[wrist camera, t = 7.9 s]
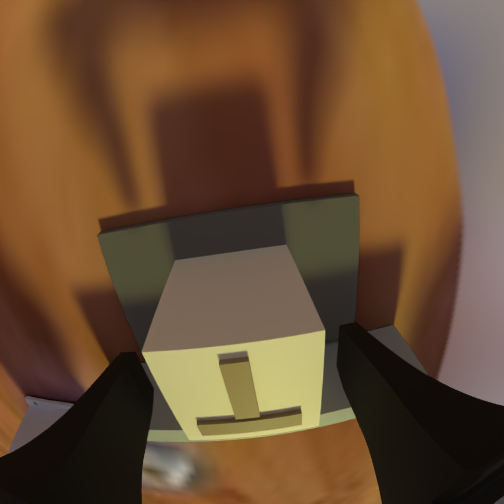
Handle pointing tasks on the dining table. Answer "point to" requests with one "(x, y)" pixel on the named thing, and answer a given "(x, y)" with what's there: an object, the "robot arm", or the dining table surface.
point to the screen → (332, 399)
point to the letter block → (238, 345)
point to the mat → (239, 239)
